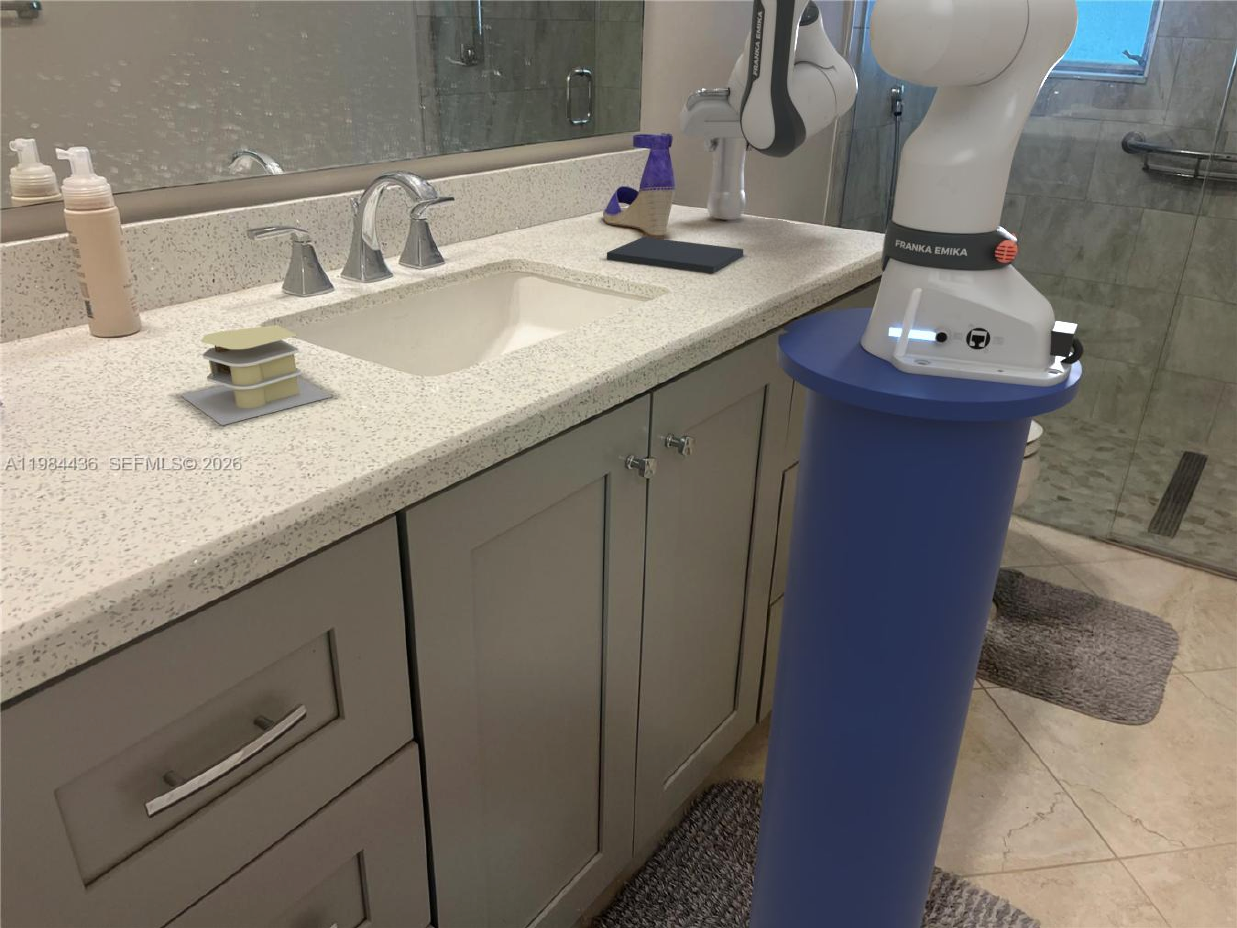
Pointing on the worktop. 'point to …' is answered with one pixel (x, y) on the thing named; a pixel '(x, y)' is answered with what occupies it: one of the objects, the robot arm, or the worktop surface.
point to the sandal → (647, 191)
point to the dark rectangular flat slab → (676, 254)
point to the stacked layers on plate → (252, 375)
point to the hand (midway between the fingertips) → (728, 148)
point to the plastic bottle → (727, 179)
